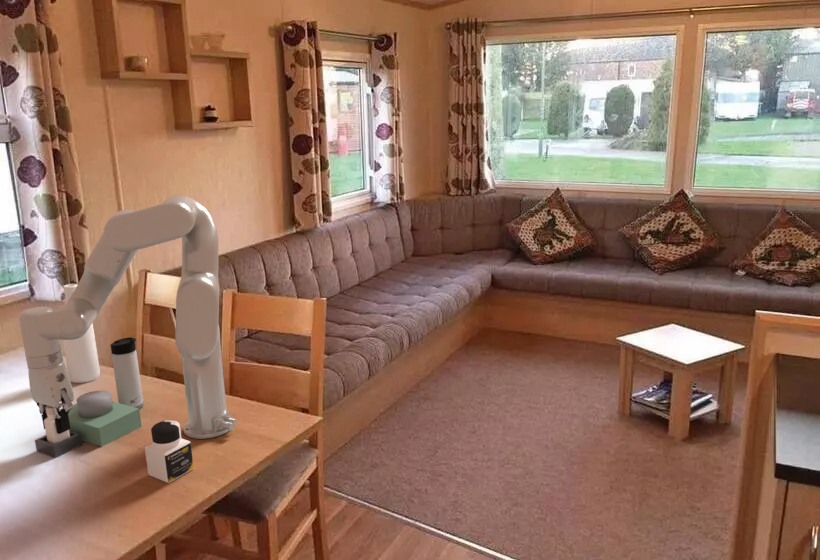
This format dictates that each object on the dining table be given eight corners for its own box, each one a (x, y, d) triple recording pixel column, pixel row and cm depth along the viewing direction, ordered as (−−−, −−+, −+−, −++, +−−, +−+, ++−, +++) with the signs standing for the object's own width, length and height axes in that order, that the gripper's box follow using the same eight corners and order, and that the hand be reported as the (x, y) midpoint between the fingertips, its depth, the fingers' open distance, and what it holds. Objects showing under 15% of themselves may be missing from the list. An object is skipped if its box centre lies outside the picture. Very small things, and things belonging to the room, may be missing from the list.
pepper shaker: (71, 439, 162) (65, 404, 160) (55, 446, 159) (49, 410, 156) (62, 435, 164) (56, 400, 162) (46, 442, 161) (40, 406, 158)
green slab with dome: (141, 426, 172) (137, 394, 170) (101, 446, 162) (96, 413, 160) (96, 413, 180) (91, 382, 178) (55, 431, 170) (49, 399, 168)
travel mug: (139, 411, 181) (129, 343, 176) (115, 412, 181) (105, 343, 176) (148, 402, 187) (139, 335, 182) (125, 402, 187) (116, 335, 182)
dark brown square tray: (82, 444, 163) (80, 433, 163) (55, 457, 157) (53, 446, 156) (63, 438, 167) (62, 427, 166) (36, 451, 160) (34, 440, 160)
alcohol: (96, 382, 201) (82, 287, 194) (65, 385, 200) (49, 290, 192) (103, 371, 210) (89, 280, 202) (73, 374, 208) (58, 282, 201)
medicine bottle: (168, 484, 145) (162, 434, 142) (147, 475, 149) (141, 427, 146) (194, 469, 151) (188, 421, 148) (173, 461, 154) (167, 414, 151)
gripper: (82, 359, 155) (93, 429, 160) (37, 348, 163) (50, 416, 168) (52, 370, 149) (65, 443, 154) (7, 359, 157) (21, 429, 161)
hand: (57, 428), depth 161 cm, fingers closed on pepper shaker, 4 cm apart
